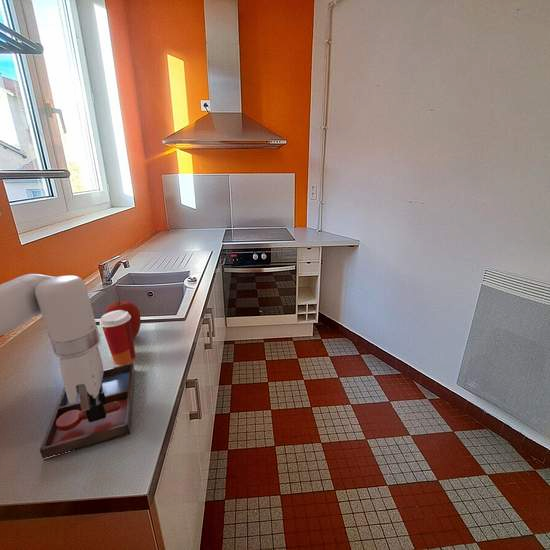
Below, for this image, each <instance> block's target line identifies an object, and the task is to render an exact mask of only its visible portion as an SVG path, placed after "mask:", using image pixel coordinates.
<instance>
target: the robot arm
mask: <svg viewBox="0 0 550 550" xmlns="http://www.w3.org/2000/svg"><path fill="white" fill-rule="evenodd" d="M40 315H41V317H42V319H43V322H44V325H45V328H46V332H47V334H48V337H49V340H50V343H51V347H52V349H53V352H54V355H55V356H56V358H59V368H60V369H59V370H60V374H61V379H62V383H63V386H64V387H65V391H66V394H67V398H68V401H69V403H70V404H74V403H76V400H77V397H78V394H79V397H80V403H81V410H82V412H83V411H85V412H86V415H87V419H88V421H89V422H93V421H97V420H100V419H104V418H106V413H105V409H104V406H103V404H107V401H106V398H105V394H104V393H101V392H103V387H102V383H101V382H102V378H103V372H104V370H105V369H104V363H103V360H102V356H101V353H100V350H99V347H98V346H99V345H100V343H101V337H100V334H99V330H98V326H97V323H96V319H95V315H94V311H93V307H92V304H91V300H90V296H89V293H88V289H87V285H86V282H85V281H84V280H83V278H82V277H80V276H77V275H60V276H52V275H47V274H46V275H45V274H40V273H26V274H23V275H20V276H18V277H15V278H13V279H10V280H8V281H5V282H3V283H1V284H0V336H4V335H7V334H10V333H11V332H13V331H15V330H16V329H17V328H19V327H21V326H22V325H24V324H26V323H27V322H28V321H30V320H32V319H33V318H35V317H38V316H40ZM64 387H63V388H64Z"/></svg>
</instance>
